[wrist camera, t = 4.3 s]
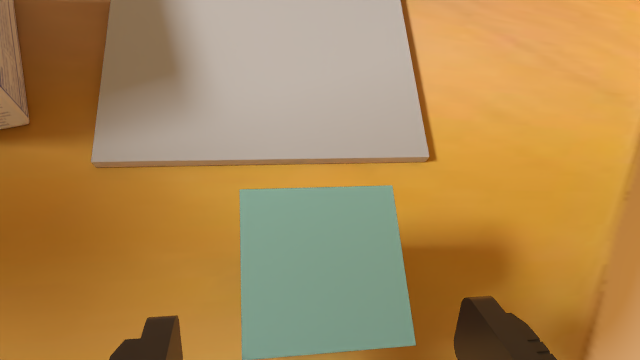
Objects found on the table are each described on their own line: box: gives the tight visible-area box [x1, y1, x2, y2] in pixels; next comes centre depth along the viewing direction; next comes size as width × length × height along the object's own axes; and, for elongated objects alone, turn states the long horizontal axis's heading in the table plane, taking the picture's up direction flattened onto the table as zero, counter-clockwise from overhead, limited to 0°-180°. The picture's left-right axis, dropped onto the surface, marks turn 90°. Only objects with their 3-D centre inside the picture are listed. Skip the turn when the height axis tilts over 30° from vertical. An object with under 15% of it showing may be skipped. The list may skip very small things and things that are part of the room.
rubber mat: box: [91, 0, 429, 167], centre depth 24 cm, size 16×15×1 cm
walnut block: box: [240, 186, 416, 360], centre depth 16 cm, size 4×4×8 cm
